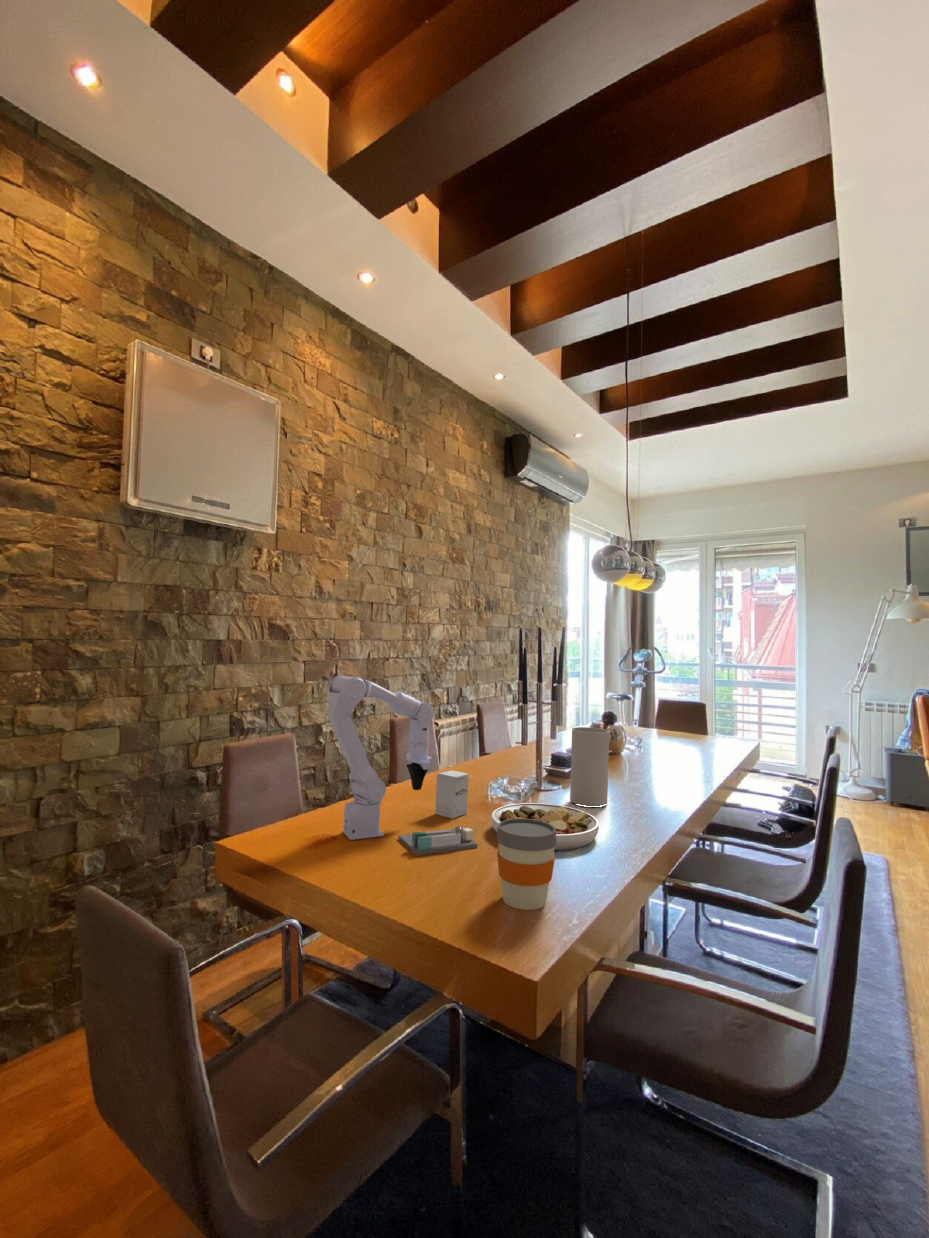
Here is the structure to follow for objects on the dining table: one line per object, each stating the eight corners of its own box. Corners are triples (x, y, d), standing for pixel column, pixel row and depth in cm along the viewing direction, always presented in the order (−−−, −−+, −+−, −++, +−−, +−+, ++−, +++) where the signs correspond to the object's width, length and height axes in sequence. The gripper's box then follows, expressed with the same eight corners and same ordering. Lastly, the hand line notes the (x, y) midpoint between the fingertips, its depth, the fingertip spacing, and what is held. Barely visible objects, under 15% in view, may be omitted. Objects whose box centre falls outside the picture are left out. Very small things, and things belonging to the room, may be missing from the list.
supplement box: (453, 819, 174) (454, 777, 174) (434, 814, 178) (436, 772, 179) (467, 814, 180) (469, 773, 180) (449, 809, 184) (450, 769, 185)
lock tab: (466, 840, 151) (466, 831, 152) (462, 837, 154) (462, 828, 154) (472, 839, 152) (473, 830, 152) (468, 836, 154) (469, 827, 155)
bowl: (499, 815, 181) (500, 789, 181) (597, 824, 175) (598, 798, 175) (482, 847, 152) (483, 816, 152) (599, 860, 145) (600, 828, 146)
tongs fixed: (419, 850, 144) (419, 835, 144) (414, 845, 147) (415, 831, 147) (465, 844, 150) (466, 830, 150) (460, 839, 153) (460, 826, 153)
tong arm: (413, 846, 146) (414, 834, 146) (412, 844, 147) (412, 832, 147) (452, 841, 150) (452, 830, 150) (450, 839, 152) (450, 828, 152)
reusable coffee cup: (567, 904, 119) (569, 830, 120) (521, 919, 112) (524, 841, 112) (527, 882, 129) (529, 815, 130) (482, 895, 122) (484, 823, 122)
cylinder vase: (562, 802, 198) (564, 728, 199) (584, 796, 206) (586, 726, 207) (593, 810, 189) (595, 733, 190) (614, 804, 197) (616, 731, 198)
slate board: (416, 855, 143) (416, 851, 143) (398, 839, 155) (398, 835, 155) (477, 847, 150) (477, 843, 150) (455, 832, 162) (456, 828, 162)
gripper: (441, 746, 164) (439, 794, 164) (422, 738, 178) (420, 782, 177) (418, 747, 161) (416, 796, 161) (400, 738, 174) (398, 784, 174)
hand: (416, 789), depth 169 cm, fingers closed
